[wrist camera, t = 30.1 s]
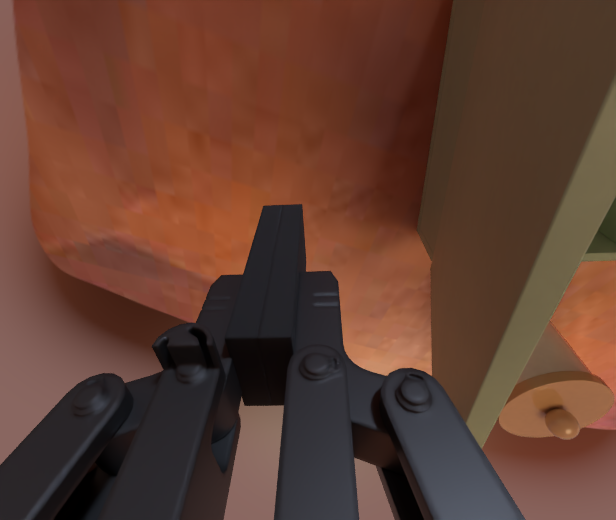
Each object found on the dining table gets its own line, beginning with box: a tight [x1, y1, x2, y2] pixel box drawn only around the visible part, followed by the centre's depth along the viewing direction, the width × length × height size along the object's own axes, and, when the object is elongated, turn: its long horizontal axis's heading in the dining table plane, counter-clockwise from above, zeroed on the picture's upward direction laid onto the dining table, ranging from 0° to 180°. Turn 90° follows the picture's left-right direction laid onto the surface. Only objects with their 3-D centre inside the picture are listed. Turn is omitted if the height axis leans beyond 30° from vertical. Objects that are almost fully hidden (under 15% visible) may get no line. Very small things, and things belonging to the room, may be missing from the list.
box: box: [417, 0, 616, 262], centre depth 23 cm, size 16×20×6 cm
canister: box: [498, 321, 614, 439], centre depth 29 cm, size 8×8×16 cm
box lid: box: [430, 0, 616, 449], centre depth 15 cm, size 16×20×1 cm
